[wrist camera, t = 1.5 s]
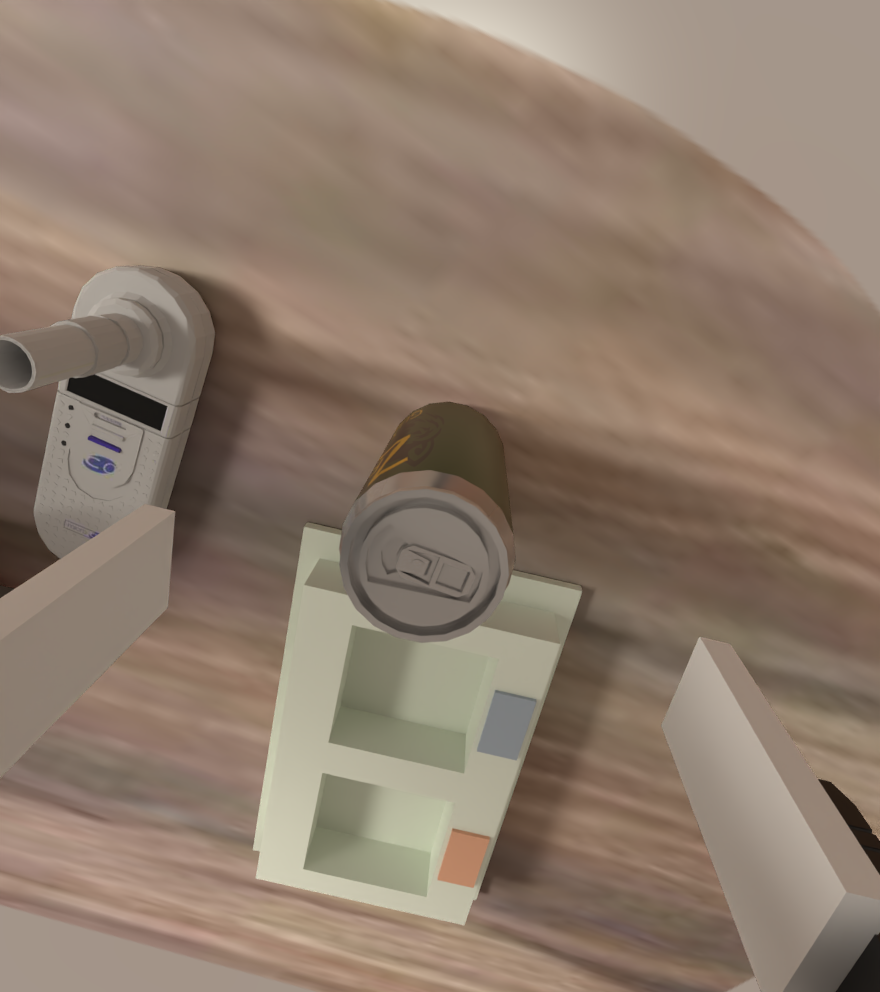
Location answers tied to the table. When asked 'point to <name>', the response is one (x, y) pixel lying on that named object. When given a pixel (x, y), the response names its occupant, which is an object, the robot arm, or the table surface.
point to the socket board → (400, 741)
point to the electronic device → (113, 397)
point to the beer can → (431, 528)
